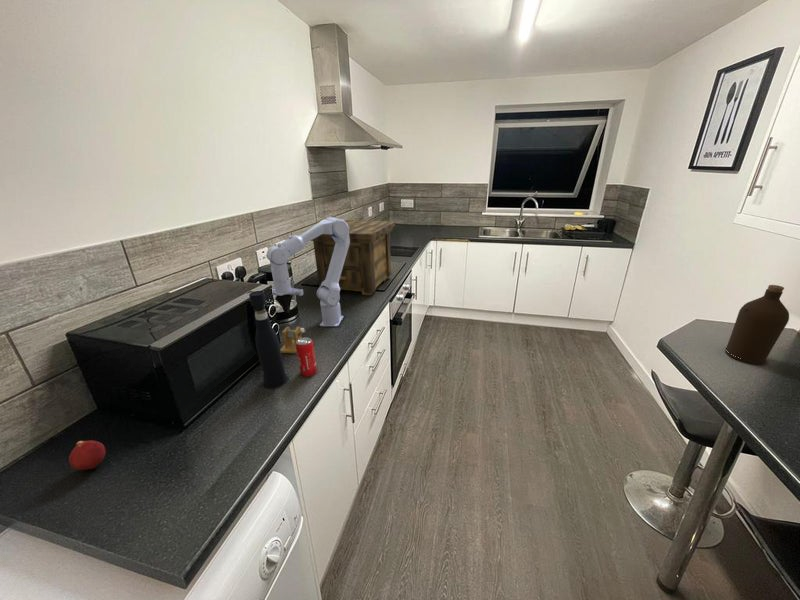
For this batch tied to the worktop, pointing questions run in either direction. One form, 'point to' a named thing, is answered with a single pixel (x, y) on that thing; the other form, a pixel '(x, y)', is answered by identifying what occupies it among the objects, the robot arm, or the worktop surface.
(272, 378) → the black bottle
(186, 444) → the worktop surface
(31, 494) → the worktop surface
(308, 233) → the robot arm
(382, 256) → the crate
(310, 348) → the beverage can
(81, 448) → the onion
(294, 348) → the bracket
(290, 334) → the tap lever
